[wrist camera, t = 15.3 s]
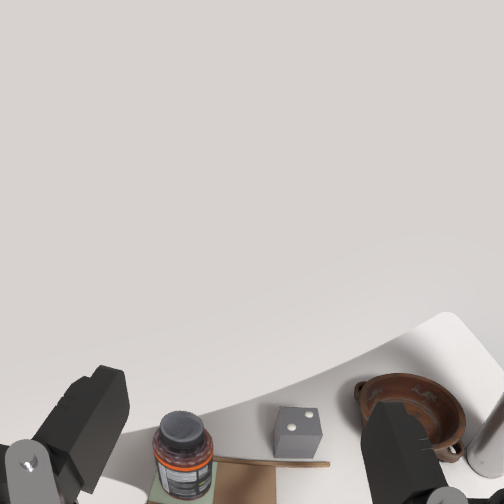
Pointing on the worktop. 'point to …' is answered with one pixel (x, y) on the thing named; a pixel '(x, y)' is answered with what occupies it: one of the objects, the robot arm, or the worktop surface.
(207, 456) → the supplement bottle
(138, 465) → the worktop surface
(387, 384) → the dish
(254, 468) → the board
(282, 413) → the die
